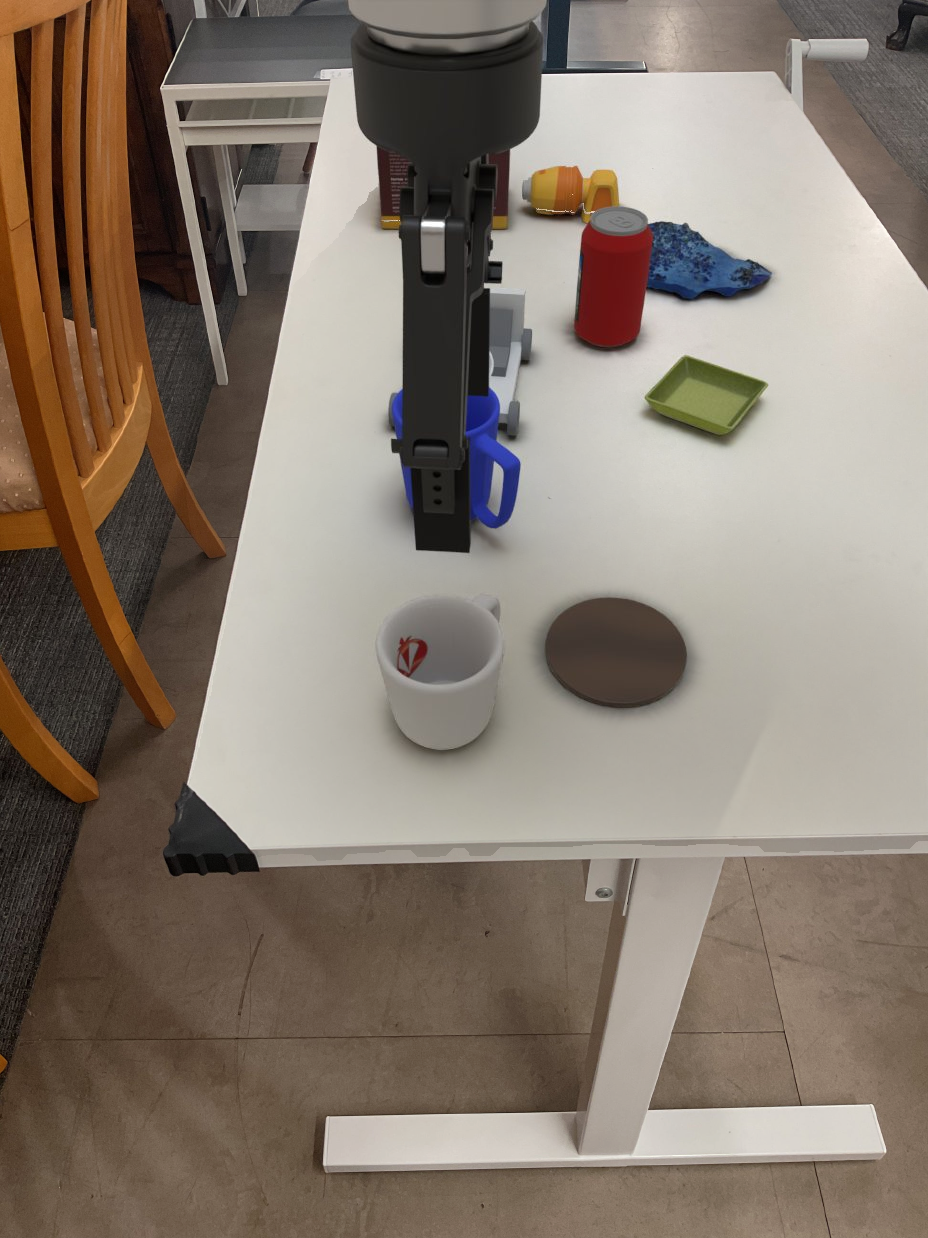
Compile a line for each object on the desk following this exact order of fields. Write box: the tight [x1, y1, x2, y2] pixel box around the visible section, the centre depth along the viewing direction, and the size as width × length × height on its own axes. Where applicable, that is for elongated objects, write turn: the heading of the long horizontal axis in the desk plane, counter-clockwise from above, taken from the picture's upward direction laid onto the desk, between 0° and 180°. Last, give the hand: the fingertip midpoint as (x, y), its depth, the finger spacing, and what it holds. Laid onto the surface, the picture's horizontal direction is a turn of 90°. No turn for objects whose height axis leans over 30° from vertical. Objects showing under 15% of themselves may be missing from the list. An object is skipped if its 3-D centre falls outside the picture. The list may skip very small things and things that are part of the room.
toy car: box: [387, 286, 533, 436], centre depth 85 cm, size 18×10×12 cm
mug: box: [392, 387, 522, 529], centre depth 74 cm, size 8×12×10 cm
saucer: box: [644, 354, 769, 436], centre depth 86 cm, size 9×9×2 cm
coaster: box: [545, 596, 688, 708], centre depth 67 cm, size 10×10×1 cm
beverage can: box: [573, 205, 653, 348], centre depth 92 cm, size 7×7×12 cm
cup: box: [375, 592, 506, 751], centre depth 61 cm, size 11×8×8 cm
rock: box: [646, 220, 773, 300], centre depth 104 cm, size 15×17×2 cm
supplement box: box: [375, 145, 511, 230], centre depth 110 cm, size 10×15×16 cm
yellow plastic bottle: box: [521, 165, 620, 224], centre depth 113 cm, size 5×6×12 cm
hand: (455, 463), depth 52 cm, fingers open, 13 cm apart
